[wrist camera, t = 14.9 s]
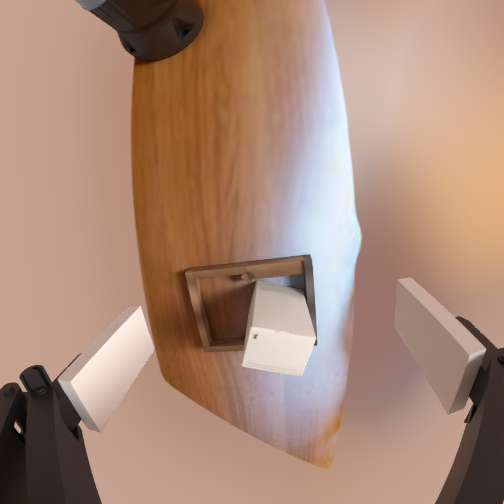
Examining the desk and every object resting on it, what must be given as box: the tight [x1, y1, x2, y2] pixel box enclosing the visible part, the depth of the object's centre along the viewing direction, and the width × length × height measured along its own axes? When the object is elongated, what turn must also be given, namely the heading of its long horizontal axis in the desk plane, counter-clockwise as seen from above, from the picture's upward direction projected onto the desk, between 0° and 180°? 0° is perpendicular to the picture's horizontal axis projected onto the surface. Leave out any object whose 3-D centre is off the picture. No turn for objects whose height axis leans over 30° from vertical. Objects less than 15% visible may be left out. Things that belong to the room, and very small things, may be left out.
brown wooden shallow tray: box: [185, 254, 317, 352], centre depth 46 cm, size 15×20×3 cm
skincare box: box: [241, 281, 316, 376], centre depth 40 cm, size 8×7×16 cm
